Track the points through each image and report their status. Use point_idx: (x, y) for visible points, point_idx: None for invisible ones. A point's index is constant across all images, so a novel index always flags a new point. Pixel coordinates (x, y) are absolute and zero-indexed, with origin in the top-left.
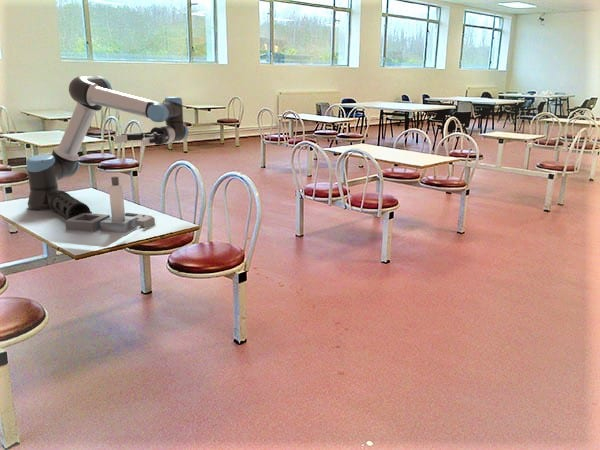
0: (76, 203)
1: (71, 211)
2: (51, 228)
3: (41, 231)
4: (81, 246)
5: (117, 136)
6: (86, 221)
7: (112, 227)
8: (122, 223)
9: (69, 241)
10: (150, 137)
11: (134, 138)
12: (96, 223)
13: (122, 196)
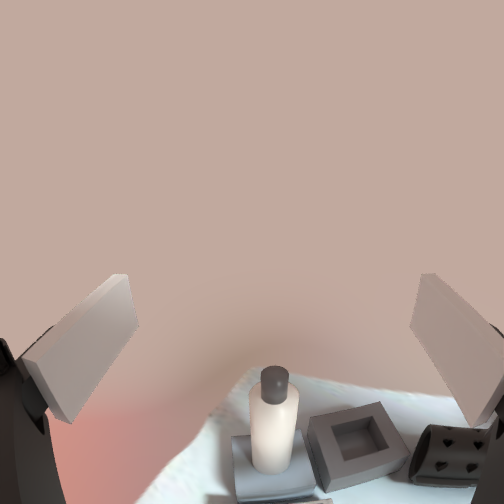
0: (432, 431)
1: None
2: (423, 418)
3: (417, 401)
4: None
5: (429, 284)
6: (333, 418)
7: None
8: (235, 438)
9: (318, 395)
10: (61, 320)
11: (484, 496)
12: (313, 432)
13: (250, 424)
